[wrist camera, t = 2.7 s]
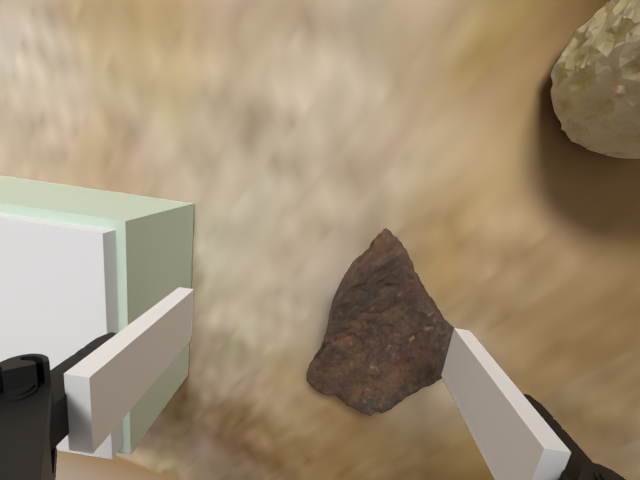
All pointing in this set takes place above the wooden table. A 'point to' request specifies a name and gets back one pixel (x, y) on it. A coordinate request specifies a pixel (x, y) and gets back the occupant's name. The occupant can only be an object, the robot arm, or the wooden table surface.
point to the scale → (90, 279)
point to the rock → (381, 332)
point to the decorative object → (602, 82)
